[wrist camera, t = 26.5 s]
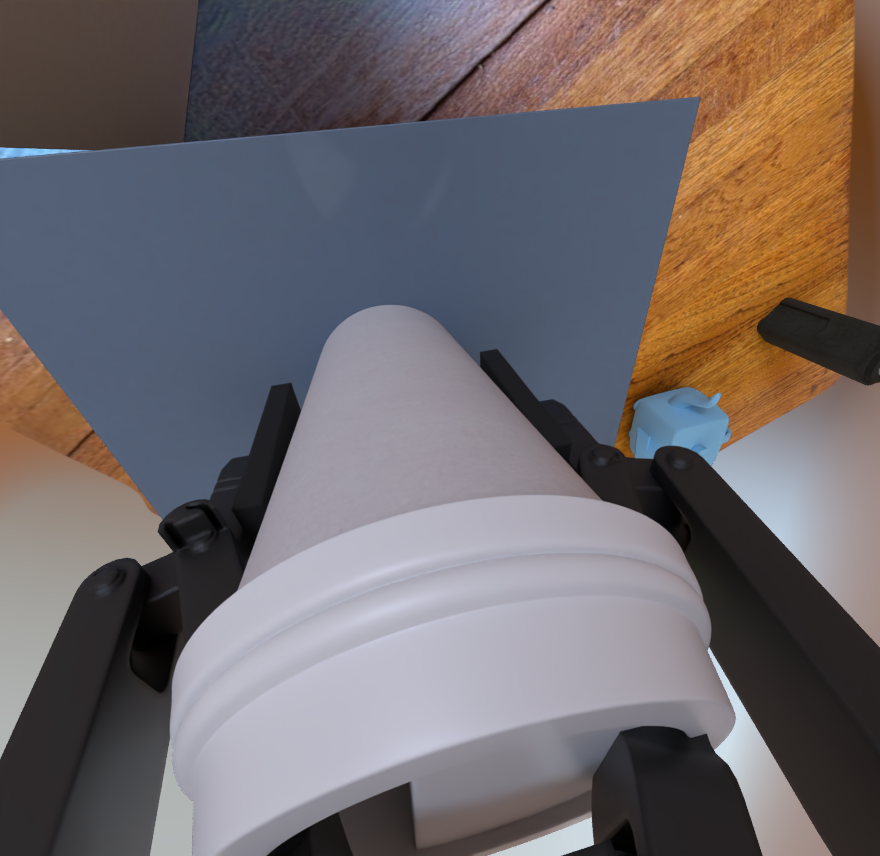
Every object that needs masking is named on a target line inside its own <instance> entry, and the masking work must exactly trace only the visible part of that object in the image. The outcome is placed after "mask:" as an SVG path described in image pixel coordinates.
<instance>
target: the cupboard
mask: <svg viewBox="0 0 880 856" xmlns="http://www.w3.org/2000/svg"><path fill="white" fill-rule="evenodd" d="M700 99H701V97H691V98H680V99H669V100H657V101H646V102H635V103H624V104H612V105H601V106H590V107H578V108H567V109H556V110H545V111H533V112H522V113H511V114H499V115H488V116H477V117H465V118H454V119H443V120H432V121H420V122H409V123H398V124H386V125H375V126H364V127H352V128H341V129H330V130H319V131H307V132H296V133H285V134H273V135H262V136H251V137H239V138H228V139H217V140H206V141H194V142H183V143H172V144H160V145H149V146H138V147H127V148H115V149H104V150H93V151H81V152H70V153H59V154H47V155H36V156H25V157H14V158H2V159H0V309H1V310H2V312H3V313H4V314H5V316H6V317H7V318H8V319H9V321H10V322H11V323H12V325H13V326H14V327H15V329H16V330H17V331H18V332H19V334H20V335H21V336H22V338H23V339H24V340H25V342H26V343H27V344H28V345H29V347H30V348H31V349H32V351H33V352H34V353H35V355H36V356H37V357H38V358H39V360H40V361H41V362H42V364H43V365H44V366H45V368H46V369H47V370H48V371H49V373H50V374H51V375H52V377H53V378H54V379H55V381H56V382H57V383H58V384H59V386H60V387H61V388H62V390H63V391H64V392H65V393H66V395H67V396H68V397H69V399H70V400H71V401H72V403H73V404H74V405H75V406H76V408H77V409H78V410H79V412H80V413H81V414H82V416H83V417H84V418H85V419H86V421H87V422H88V423H89V425H90V426H91V427H92V429H93V430H94V431H95V432H96V434H97V435H98V436H99V438H100V439H101V440H102V442H103V443H104V444H105V445H106V447H107V448H108V449H109V451H110V452H111V453H112V454H113V456H114V457H115V458H116V460H117V461H118V462H119V464H120V465H121V466H122V467H123V469H124V470H125V471H126V473H127V474H128V475H129V477H130V478H131V479H132V480H133V482H134V483H135V484H136V486H137V487H138V488H139V490H140V491H141V492H142V493H143V495H144V496H145V497H146V499H147V500H148V501H149V503H150V504H151V505H152V506H153V508H154V509H155V510H156V512H157V513H158V514H159V516H160V517H161V518H162V519H164V518H165V516H166V515H168V514H169V513H170V512H171V511H173V510H174V509H175V508H177V507H179V506H181V505H183V504H184V503H187V502H190V501H193V500H199V499H207V500H210V497H211V495H212V493H214V492H213V490H214V487H215V485H216V483H217V480H218V477H219V475H220V472H221V470H222V469H223V468H224V466H225V465H226V464H227V463H228V462H229V461H230V460H231V459H232V458H237V457H242V456H248V455H249V453H250V450H251V447H252V444H253V441H254V438H255V435H256V432H257V429H258V425H259V422H260V419H261V416H262V413H263V410H264V407H265V404H266V401H267V398H268V395H269V392H270V389H271V386H273V385H279V384H285V383H292V386H293V389H294V392H295V395H296V398H297V400H298V403H299V406H300V409H301V410H302V408H303V405H304V402H305V399H306V396H307V393H308V390H309V387H310V384H311V382H312V379H313V376H314V373H315V370H316V367H317V364H318V361H319V358H320V355H321V353H322V350H323V347H324V345H325V343H326V341H327V339H328V338H329V336H330V335H331V333H332V332H333V331H334V330H335V329H336V328H337V326H339V325H340V324H341V323H342V322H343V321H344V320H346V319H347V318H348V317H350V316H352V315H353V314H355V313H357V312H359V311H362V310H364V309H367V308H370V307H374V306H380V305H402V306H407V307H411V308H414V309H417V310H420V311H422V312H424V313H426V314H428V315H430V316H431V317H433V318H434V319H435V320H437V321H438V322H439V323H440V324H441V325H442V326H443V327H444V328H445V329H446V330H447V331H448V332H449V333H450V335H451V336H452V337H453V338H454V339H455V340H456V341H457V342H458V343H459V345H460V346H461V347H462V348H463V349H464V350H465V351H466V352H467V353H468V354H469V356H470V357H471V358H472V359H473V360H474V361H475V362H476V363H477V364H478V366H479V367H480V352H482V351H488V350H494V349H498V350H499V352H500V353H501V354H502V355H503V357H504V358H505V359H506V361H507V362H508V363H509V364H510V366H511V367H512V368H513V369H514V371H515V372H516V373H517V374H518V376H519V377H520V378H521V379H522V381H523V382H524V383H525V384H526V386H527V387H528V388H529V389H530V391H531V392H532V393H533V394H534V396H535V397H536V398H537V399H538V401H544V400H550V399H554V400H556V401H558V402H560V403H562V404H563V405H565V406H566V407H567V408H568V409H569V411H570V412H571V413H572V415H574V416H575V417H576V418H577V420H578V422H580V423H581V424H582V425H583V426H584V427H585V429H586V430H587V431H588V432H589V433H590V434H591V435H592V436H593V438H594V439H595V440H596V441H597V442H598V443H599V444H604V445H609V446H612V447H614V445H615V441H616V437H617V433H618V429H619V425H620V421H621V417H622V413H623V409H624V405H625V401H626V397H627V393H628V389H629V385H630V381H631V377H632V373H633V369H634V365H635V361H636V357H637V353H638V349H639V345H640V341H641V337H642V333H643V329H644V324H645V320H646V316H647V312H648V308H649V304H650V300H651V296H652V292H653V288H654V284H655V280H656V276H657V272H658V268H659V264H660V260H661V256H662V252H663V248H664V244H665V240H666V236H667V232H668V228H669V224H670V220H671V216H672V212H673V208H674V204H675V200H676V195H677V191H678V187H679V183H680V179H681V175H682V171H683V167H684V163H685V159H686V155H687V151H688V147H689V143H690V139H691V135H692V131H693V127H694V123H695V119H696V115H697V111H698V107H699V103H700Z"/></svg>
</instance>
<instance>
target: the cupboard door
mask: <svg viewBox="0 0 880 856" xmlns="http://www.w3.org/2000/svg"><path fill="white" fill-rule="evenodd" d="M198 4H199V0H0V147H6V148H37V149H68V150H104V149H115V148H127V147H138V146H149V145H160V144H172V143H183V141H184V132H185V123H186V114H187V104H188V95H189V86H190V77H191V68H192V59H193V49H194V40H195V31H196V22H197V13H198Z"/></svg>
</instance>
